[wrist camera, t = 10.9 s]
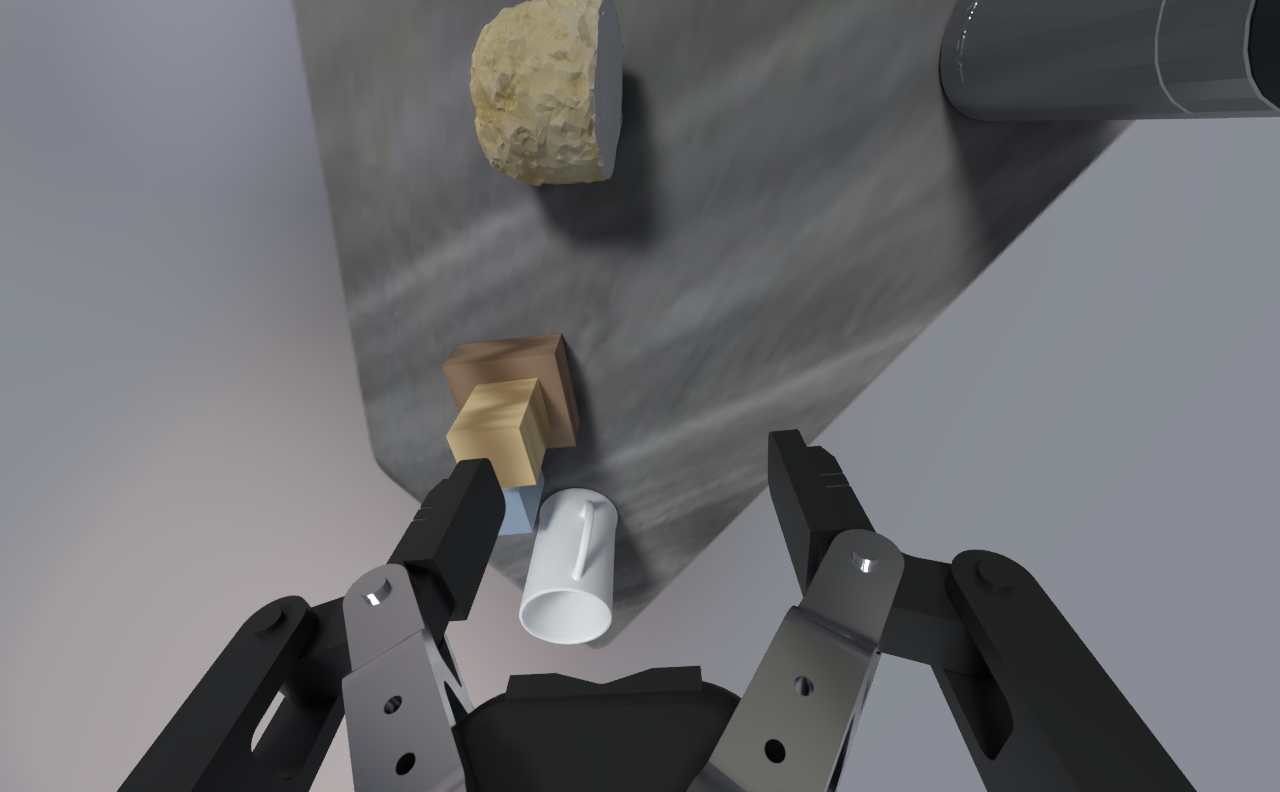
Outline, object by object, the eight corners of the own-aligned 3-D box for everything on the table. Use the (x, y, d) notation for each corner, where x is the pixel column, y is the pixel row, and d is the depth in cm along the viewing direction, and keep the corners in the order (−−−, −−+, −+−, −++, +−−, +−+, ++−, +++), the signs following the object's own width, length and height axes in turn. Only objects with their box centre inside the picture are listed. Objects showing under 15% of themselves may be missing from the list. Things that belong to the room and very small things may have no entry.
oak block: (537, 378, 36) (519, 428, 30) (551, 428, 39) (536, 484, 33) (476, 384, 36) (445, 436, 30) (494, 434, 39) (469, 491, 33)
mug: (561, 454, 45) (541, 551, 35) (640, 478, 47) (643, 577, 37) (531, 532, 51) (505, 635, 40) (602, 550, 53) (595, 654, 42)
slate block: (533, 441, 44) (518, 491, 38) (544, 480, 47) (532, 532, 41) (484, 447, 45) (461, 497, 39) (497, 485, 47) (478, 537, 41)
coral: (664, 209, 27) (493, 205, 23) (605, 172, 34) (466, 164, 30) (697, 2, 22) (479, -51, 18) (617, 10, 29) (450, -27, 25)
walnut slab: (561, 333, 38) (554, 353, 35) (580, 420, 43) (575, 445, 40) (458, 345, 39) (441, 366, 35) (488, 429, 43) (475, 456, 40)
